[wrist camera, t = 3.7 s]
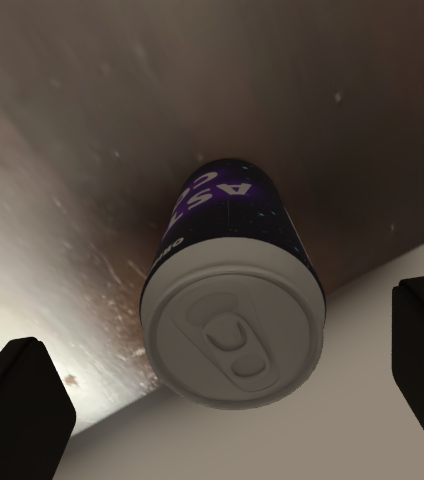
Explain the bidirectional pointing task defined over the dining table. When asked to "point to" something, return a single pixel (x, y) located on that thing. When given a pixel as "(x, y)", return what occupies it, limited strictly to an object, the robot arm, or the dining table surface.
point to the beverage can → (232, 294)
